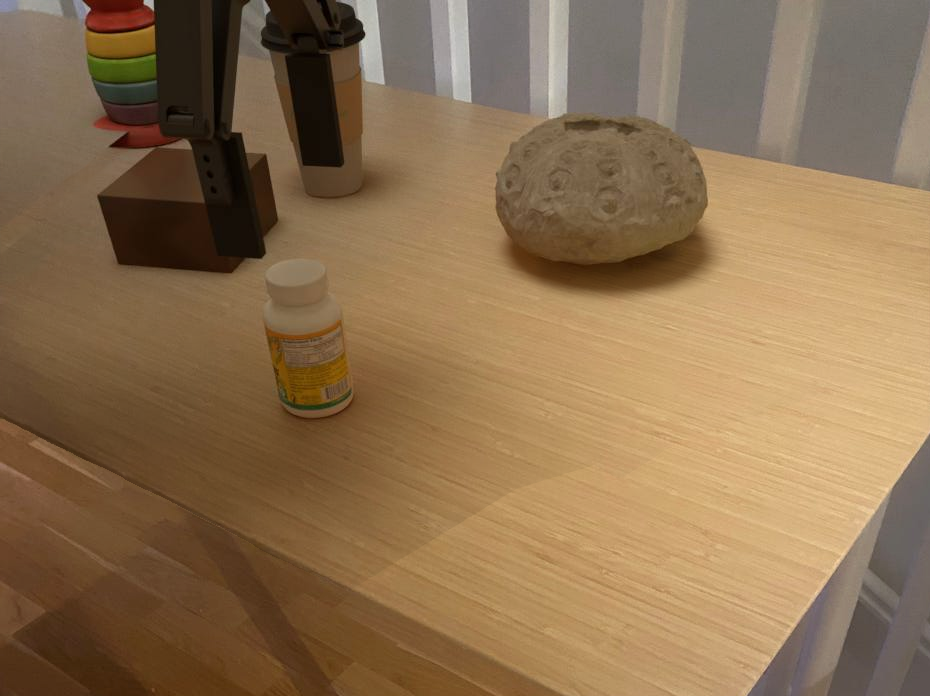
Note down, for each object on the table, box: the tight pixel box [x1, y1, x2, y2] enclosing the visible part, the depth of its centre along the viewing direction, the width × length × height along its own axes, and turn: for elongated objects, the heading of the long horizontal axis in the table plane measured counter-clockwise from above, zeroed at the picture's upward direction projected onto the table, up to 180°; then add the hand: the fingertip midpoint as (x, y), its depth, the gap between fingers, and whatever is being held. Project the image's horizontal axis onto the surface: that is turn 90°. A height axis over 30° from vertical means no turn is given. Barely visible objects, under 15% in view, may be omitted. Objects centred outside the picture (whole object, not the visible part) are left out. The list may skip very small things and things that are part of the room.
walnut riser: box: [96, 146, 279, 274], centre depth 88 cm, size 11×11×6 cm
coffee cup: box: [260, 1, 366, 198], centre depth 93 cm, size 9×9×15 cm
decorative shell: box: [494, 112, 709, 266], centre depth 83 cm, size 18×18×10 cm
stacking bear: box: [81, 0, 180, 149], centre depth 104 cm, size 11×10×18 cm
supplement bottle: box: [262, 258, 355, 419], centre depth 68 cm, size 5×5×10 cm
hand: (286, 207), depth 61 cm, fingers open, 13 cm apart
